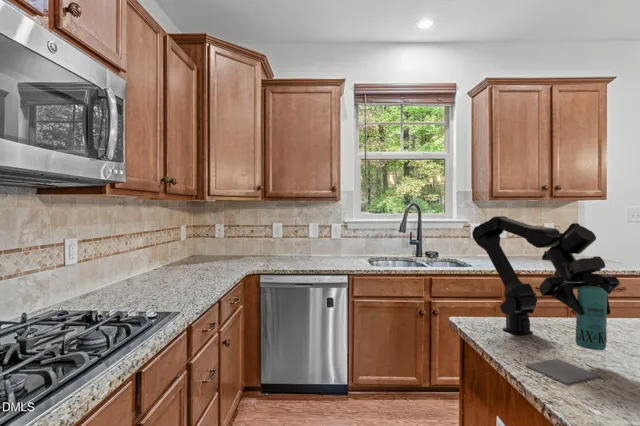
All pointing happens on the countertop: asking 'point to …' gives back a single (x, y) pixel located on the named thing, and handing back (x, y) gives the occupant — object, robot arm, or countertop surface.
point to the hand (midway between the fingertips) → (595, 314)
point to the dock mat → (563, 371)
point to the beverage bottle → (592, 314)
